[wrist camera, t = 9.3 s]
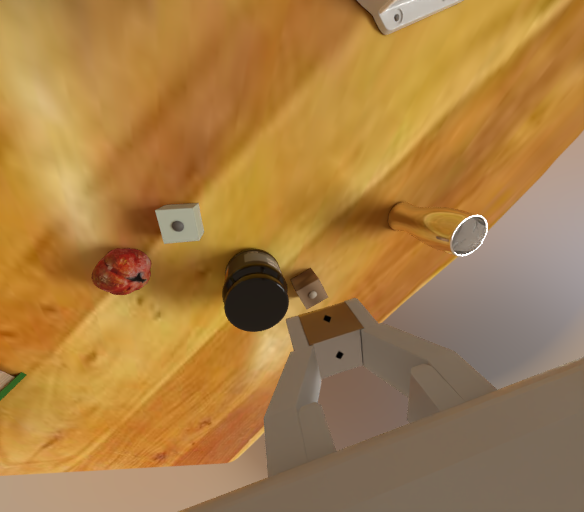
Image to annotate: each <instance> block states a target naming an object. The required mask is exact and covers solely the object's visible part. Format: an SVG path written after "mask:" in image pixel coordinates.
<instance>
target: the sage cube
mask: <svg viewBox="0 0 584 512" xmlns="http://www.w3.org/2000/svg"><path fill="white" fill-rule="evenodd" d="M155 212H156V216H157V219H158V223H159V227H160V230H161V234H162V238H163V241H164V244H166V243H177V242H188V241H199V240H200V238H201V237H202V235H203V233H204V229H203V224H202V218H201V213H200V208H199V203H190V204H172V205H165V206H163V207H161V208H159V209H157V210H155Z"/></svg>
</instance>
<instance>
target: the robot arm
mask: <svg viewBox="0 0 584 512" xmlns="http://www.w3.org/2000/svg"><path fill="white" fill-rule="evenodd" d="M357 1H358V2H359V3H360V4H361V5H362V6H363V7H364V8H365V9H366V10H368V11H369V12H370V13H371V14H372V16H373V17H374V20H375V22H376V24H377V26H378V28H379V29H380V31H381V32H382V33H383V34H385V35H387V34H390V33H392V32H395V31H397V30H399V29H401V28H404V27H406V26H408V25H410V24H413V23H415V22H417V21H419V20H422V19H424V18H426V17H429V16H431V15H433V14H435V13H438V12H440V11H442V10H444V9H447V8H449V7H451V6H453V5H456V4H458V3H460V2H462V1H463V0H357ZM394 17H395V18H396V21H395V20H394ZM286 323H287V327H288V330H289V334H290V338H291V342H292V345H293V349H294V351H293V352H290V354H289V357H288V359H287V362H286V364H285V367H284V369H283V372H282V374H281V377H280V379H279V382H278V384H277V387H276V389H275V392H274V394H273V396H272V399H271V401H270V404H269V406H268V409H267V411H266V414H265V416H264V429H265V442H266V455H267V469H268V478H265V479H263V480H260V481H258V482H255V483H252V484H250V485H247V486H245V487H242V488H239V489H237V490H234V491H231V492H229V493H226V494H224V495H221V496H218V497H216V498H213V499H211V500H208V501H205V502H202V503H200V504H197V505H195V506H192V507H190V508H187V509H184V510H182V511H179V512H584V357H582V358H579V359H577V360H574V361H572V362H569V363H566V364H564V365H561V366H559V367H556V368H553V369H551V370H548V371H546V372H543V373H540V374H538V375H535V376H532V377H530V378H527V379H525V380H522V381H519V382H517V383H514V384H511V385H509V386H506V387H504V388H501V389H498V390H497V389H496V388H495V387H494V386H493V385H492V384H491V383H489V382H488V381H487V380H486V379H485V378H484V377H483V376H482V375H481V374H479V373H478V372H477V371H476V370H475V369H474V368H473V367H472V366H470V365H469V364H468V363H467V362H466V361H465V360H464V359H463V358H461V357H460V356H459V355H458V354H457V353H456V352H454V351H452V350H450V349H447V348H445V347H442V346H440V345H437V344H434V343H432V342H429V341H427V340H424V339H422V338H419V337H417V336H414V335H412V334H409V333H407V332H404V331H402V330H399V329H397V328H394V327H392V326H389V325H387V324H384V323H380V324H378V323H377V321H376V320H375V319H374V318H373V317H372V316H371V314H370V313H369V312H368V311H367V310H366V308H365V307H364V306H363V305H362V304H361V303H360V301H359V300H358V299H357V298H353V299H350V300H347V301H344V302H341V303H338V304H335V305H332V306H328V307H325V308H322V309H319V310H315V311H311V312H308V313H304V314H301V315H298V316H294V317H291V318H287V319H286ZM362 365H364V367H366V368H367V369H368V370H370V371H371V372H372V373H374V374H375V375H377V376H378V377H380V378H381V379H382V380H384V381H385V382H387V383H388V384H389V385H391V386H392V387H394V388H395V389H397V390H398V391H399V392H401V393H402V394H404V395H405V396H407V397H408V398H409V401H408V414H407V420H408V422H409V424H407V425H404V426H401V427H399V428H396V429H393V430H391V431H389V432H386V433H383V434H380V435H378V436H375V437H372V438H370V439H367V440H365V441H362V442H360V443H357V444H354V445H352V446H349V447H347V448H344V449H341V450H339V451H336V448H335V446H334V442H333V439H332V436H331V433H330V430H329V427H328V425H327V421H326V418H325V415H324V412H323V409H322V406H321V405H320V404H318V398H319V392H320V387H321V380H322V379H324V378H326V377H329V376H332V375H335V374H337V373H340V372H343V371H346V370H349V369H353V368H356V367H359V366H362Z"/></svg>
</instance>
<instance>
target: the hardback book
mask: <svg viewBox="0 0 584 512" xmlns="http://www.w3.org/2000/svg"><path fill="white" fill-rule="evenodd" d="M25 376H26V374H24V373H22V372H21V373H20V374H18V375H17V376H15V377H13V376H11V375H9V374H7V373H5V372H3V371H1V370H0V400H1V399H2V398H3V397H4V396H6V395H7V394H8V393H9V392H10V391H11V390H12V389H13V388H14V387H15V386H16V385H17V384H18V383H19V382H20V381H21V380H22V379H23V378H24V377H25Z"/></svg>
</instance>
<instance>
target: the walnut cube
mask: <svg viewBox="0 0 584 512" xmlns="http://www.w3.org/2000/svg"><path fill="white" fill-rule="evenodd" d="M291 282H292V284H293V286H294V289H295V291H296V293H297V294H298V296H299V297H300V299H301V301H302V302H303V304H304V306H305V307H306V309H309V308H310V307H312V306H314V305H316V304H317V303H319V302H321V301H322V300H324V299H326V298H328V296H327V294H326V292H325V290H324V288H323V286H322V284H321V282H320V280H319V278H318V277H317V276H316V274H315V273H314V272H313V270H312V269H311V268H310V269H308V270H306V271H305V272H303V273H301V274H299V275H298V276H296V277H294V278H292V279H291Z"/></svg>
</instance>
